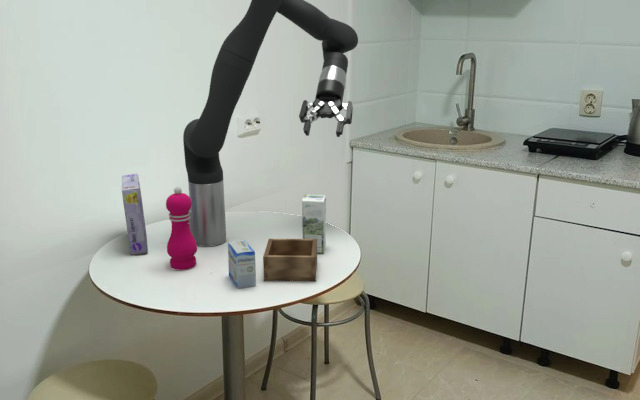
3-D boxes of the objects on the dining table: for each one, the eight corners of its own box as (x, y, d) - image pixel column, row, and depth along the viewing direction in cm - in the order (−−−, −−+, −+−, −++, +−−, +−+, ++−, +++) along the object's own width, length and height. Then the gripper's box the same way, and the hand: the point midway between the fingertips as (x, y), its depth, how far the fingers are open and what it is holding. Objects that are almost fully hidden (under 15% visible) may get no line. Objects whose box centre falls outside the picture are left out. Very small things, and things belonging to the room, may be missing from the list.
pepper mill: (203, 261, 147) (198, 184, 142) (188, 272, 141) (182, 192, 135) (178, 258, 150) (172, 182, 144) (162, 268, 143) (155, 189, 137)
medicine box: (228, 276, 139) (226, 241, 136) (246, 273, 141) (245, 239, 138) (237, 289, 132) (236, 253, 130) (256, 286, 134) (255, 250, 131)
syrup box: (326, 246, 158) (326, 194, 154) (324, 254, 152) (324, 200, 148) (304, 245, 158) (304, 193, 154) (302, 253, 153) (301, 200, 148)
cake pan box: (127, 232, 168) (121, 172, 163) (145, 230, 170) (140, 171, 165) (128, 256, 151) (121, 190, 146) (148, 254, 152) (142, 188, 147)
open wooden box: (263, 281, 136) (263, 256, 134) (269, 261, 148) (268, 238, 146) (315, 281, 136) (315, 257, 134) (317, 261, 147) (317, 238, 146)
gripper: (304, 77, 163) (293, 125, 156) (354, 78, 160) (346, 127, 152) (309, 94, 169) (299, 141, 162) (358, 95, 166) (350, 143, 159)
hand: (322, 134), depth 157 cm, fingers open, 8 cm apart
